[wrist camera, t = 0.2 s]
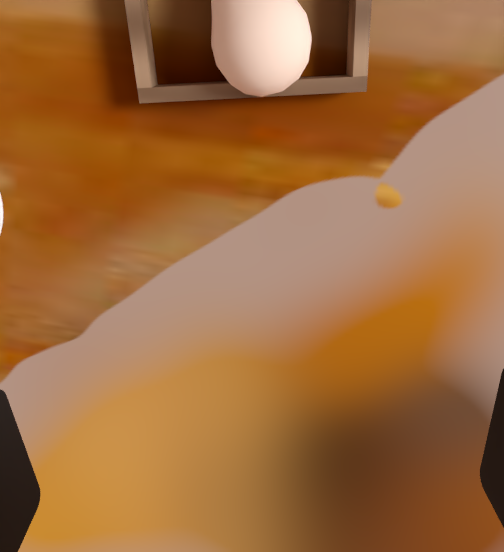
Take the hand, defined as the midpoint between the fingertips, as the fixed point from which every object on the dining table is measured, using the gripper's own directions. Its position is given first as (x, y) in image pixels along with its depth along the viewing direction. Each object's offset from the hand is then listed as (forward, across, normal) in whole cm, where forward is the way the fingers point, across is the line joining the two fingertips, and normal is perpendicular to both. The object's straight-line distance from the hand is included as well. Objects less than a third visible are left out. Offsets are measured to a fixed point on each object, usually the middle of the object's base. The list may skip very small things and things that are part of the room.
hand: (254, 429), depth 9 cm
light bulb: (+31, 0, -8) cm, 32 cm away
